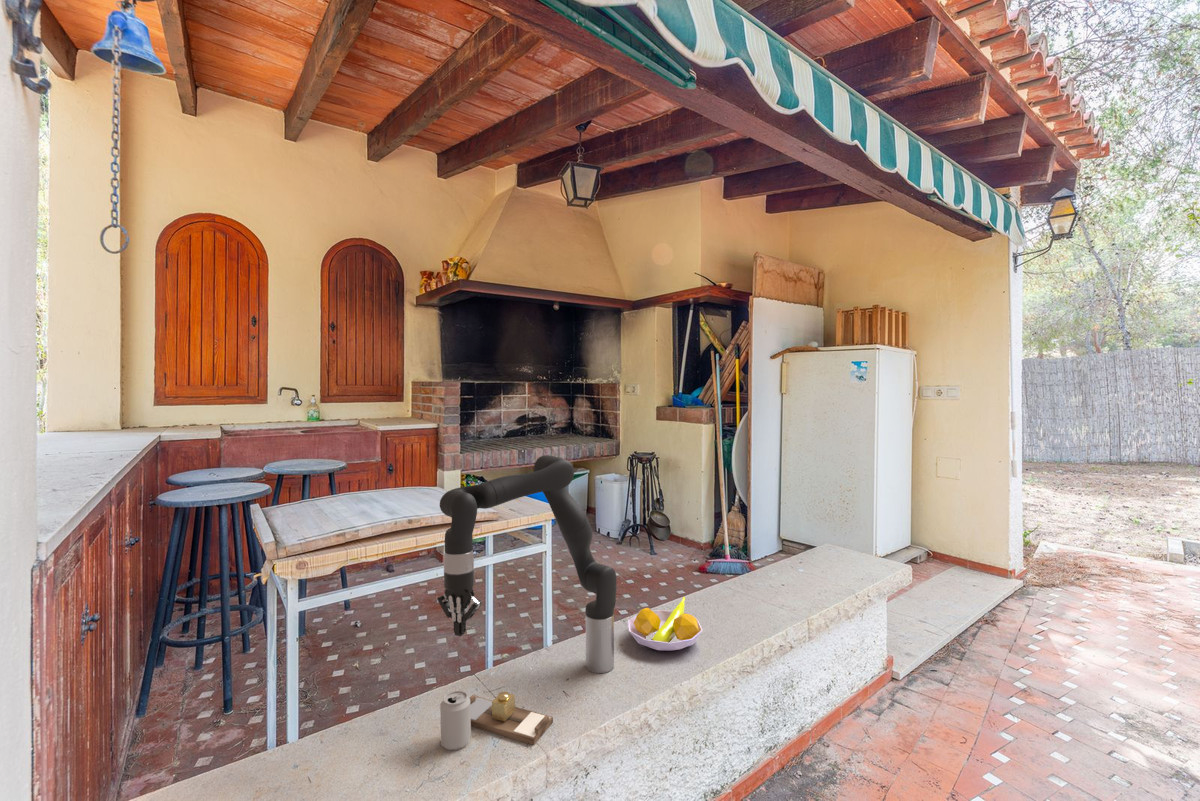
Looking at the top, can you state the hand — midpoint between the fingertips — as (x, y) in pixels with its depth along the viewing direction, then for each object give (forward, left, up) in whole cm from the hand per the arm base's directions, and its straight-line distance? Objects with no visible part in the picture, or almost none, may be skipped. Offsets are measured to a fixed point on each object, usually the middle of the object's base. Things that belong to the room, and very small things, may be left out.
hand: (459, 634), depth 138 cm
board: (-10, +7, -27) cm, 30 cm away
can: (+2, 0, -27) cm, 27 cm away
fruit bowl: (-73, +34, -27) cm, 85 cm away
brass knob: (-10, +7, -25) cm, 28 cm away
